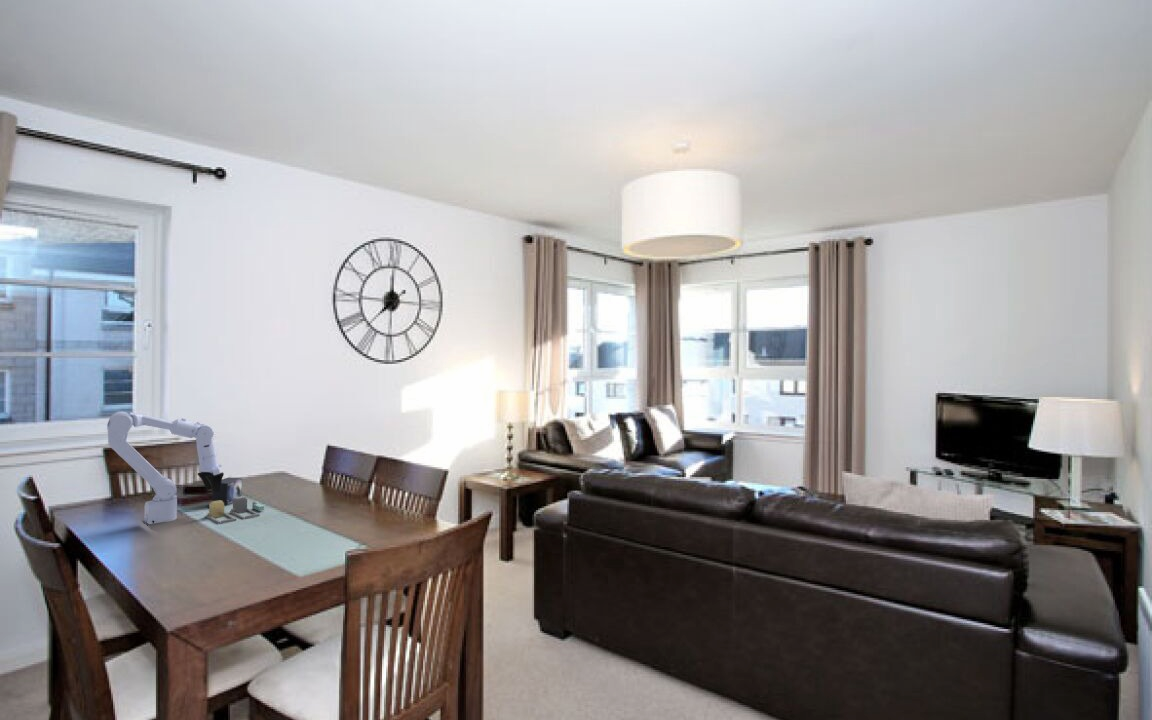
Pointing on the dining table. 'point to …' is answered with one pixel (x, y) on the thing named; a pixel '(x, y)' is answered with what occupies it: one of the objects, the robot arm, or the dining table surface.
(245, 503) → the slider graphite
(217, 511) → the slider brass
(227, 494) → the small box
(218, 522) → the control board
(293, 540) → the dining table surface
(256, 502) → the paddle
